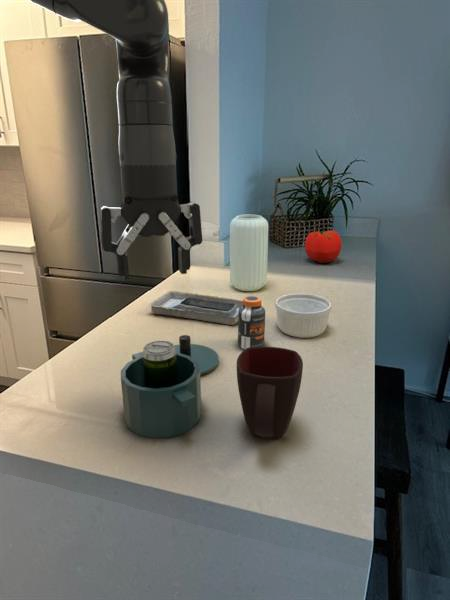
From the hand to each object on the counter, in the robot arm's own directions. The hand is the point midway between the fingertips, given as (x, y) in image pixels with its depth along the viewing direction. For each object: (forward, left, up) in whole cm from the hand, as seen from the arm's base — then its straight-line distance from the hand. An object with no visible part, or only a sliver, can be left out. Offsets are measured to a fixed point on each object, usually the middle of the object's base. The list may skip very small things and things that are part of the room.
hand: (154, 275), depth 64 cm
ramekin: (+39, +23, -25) cm, 52 cm away
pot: (0, 0, -25) cm, 25 cm away
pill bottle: (+24, +19, -25) cm, 39 cm away
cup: (+14, -11, -25) cm, 30 cm away
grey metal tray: (+19, +42, -25) cm, 52 cm away
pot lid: (+8, +16, -24) cm, 30 cm away
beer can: (0, 0, -24) cm, 24 cm away
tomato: (+77, +76, -25) cm, 111 cm away
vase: (+39, +57, -25) cm, 73 cm away
